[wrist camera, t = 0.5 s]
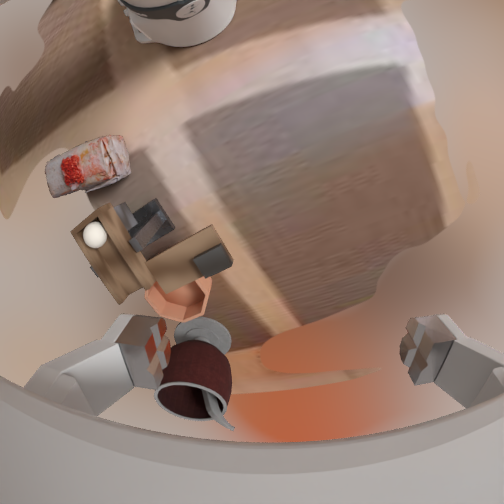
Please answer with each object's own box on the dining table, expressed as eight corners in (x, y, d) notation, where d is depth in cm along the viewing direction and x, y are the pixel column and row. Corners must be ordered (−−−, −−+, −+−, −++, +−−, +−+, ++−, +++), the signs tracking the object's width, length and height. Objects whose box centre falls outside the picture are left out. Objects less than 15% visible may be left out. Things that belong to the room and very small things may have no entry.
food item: (127, 127, 38) (97, 131, 29) (139, 172, 42) (112, 187, 33) (66, 153, 40) (32, 164, 31) (78, 193, 43) (46, 211, 34)
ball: (89, 227, 36) (74, 232, 32) (104, 214, 35) (89, 219, 31) (100, 248, 36) (86, 255, 33) (116, 237, 35) (102, 243, 32)
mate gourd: (163, 344, 59) (140, 417, 41) (183, 303, 53) (157, 384, 35) (225, 368, 62) (218, 442, 44) (253, 332, 56) (253, 415, 38)
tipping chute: (98, 215, 41) (70, 231, 33) (184, 155, 37) (164, 159, 29) (147, 290, 45) (128, 317, 38) (237, 246, 42) (230, 270, 34)
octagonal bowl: (141, 271, 50) (133, 284, 46) (188, 245, 48) (182, 257, 44) (175, 313, 54) (170, 328, 50) (221, 293, 52) (219, 308, 48)
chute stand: (111, 228, 46) (80, 258, 36) (156, 197, 44) (128, 222, 33) (129, 254, 48) (103, 288, 38) (175, 227, 46) (154, 259, 36)
